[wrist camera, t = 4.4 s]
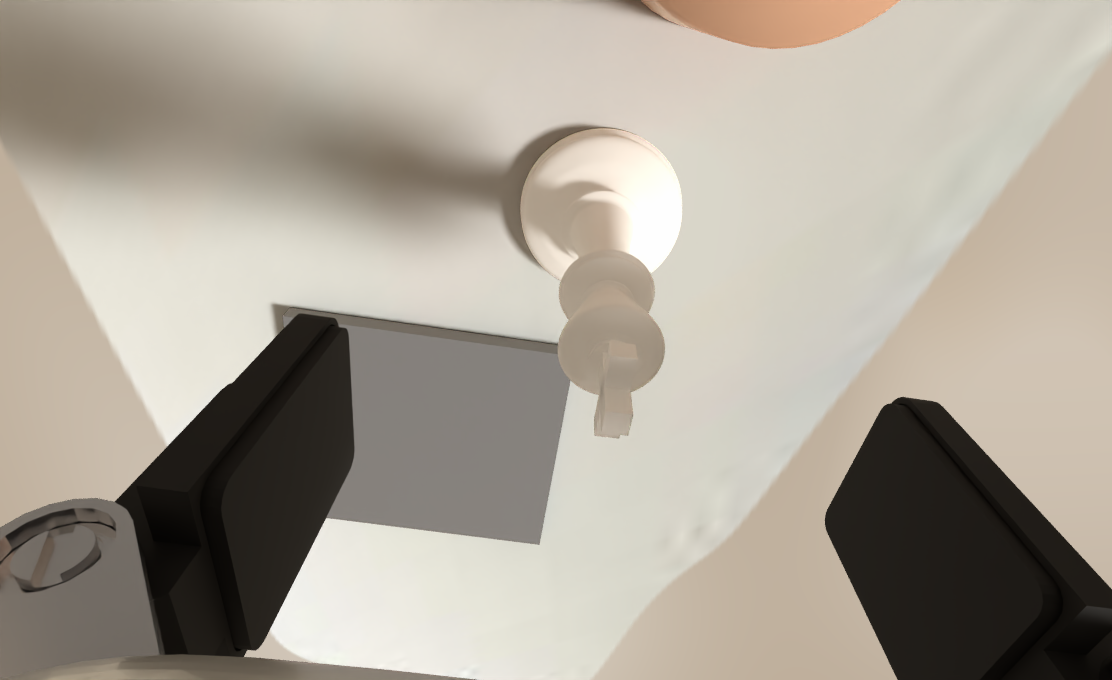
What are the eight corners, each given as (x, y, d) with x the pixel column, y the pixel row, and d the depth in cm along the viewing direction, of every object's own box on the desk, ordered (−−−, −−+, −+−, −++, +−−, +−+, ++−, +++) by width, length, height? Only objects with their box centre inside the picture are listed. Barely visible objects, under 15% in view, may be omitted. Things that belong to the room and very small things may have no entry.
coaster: (290, 307, 20) (282, 316, 19) (574, 347, 20) (574, 356, 19) (315, 504, 25) (309, 515, 24) (540, 533, 25) (539, 544, 25)
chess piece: (514, 274, 19) (456, 512, 10) (528, 117, 16) (465, 260, 8) (662, 292, 19) (727, 542, 10) (699, 139, 16) (828, 306, 8)
